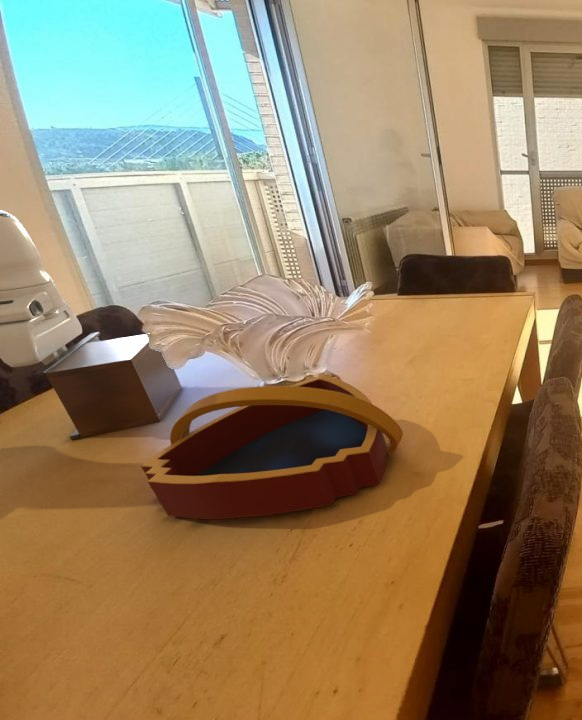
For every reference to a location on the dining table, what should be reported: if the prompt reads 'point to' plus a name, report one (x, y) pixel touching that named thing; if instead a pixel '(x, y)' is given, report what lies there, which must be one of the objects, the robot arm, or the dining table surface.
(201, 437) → the decorative basket
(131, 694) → the dining table surface
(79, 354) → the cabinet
